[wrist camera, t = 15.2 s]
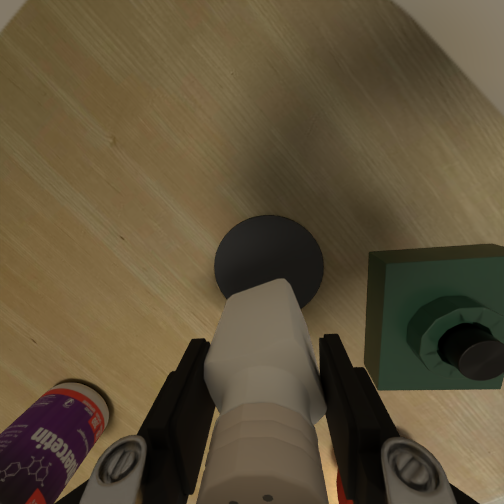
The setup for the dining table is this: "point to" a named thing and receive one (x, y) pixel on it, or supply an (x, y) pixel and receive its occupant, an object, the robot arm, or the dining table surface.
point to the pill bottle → (49, 443)
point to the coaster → (269, 257)
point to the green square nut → (430, 312)
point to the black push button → (473, 352)
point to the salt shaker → (264, 403)
